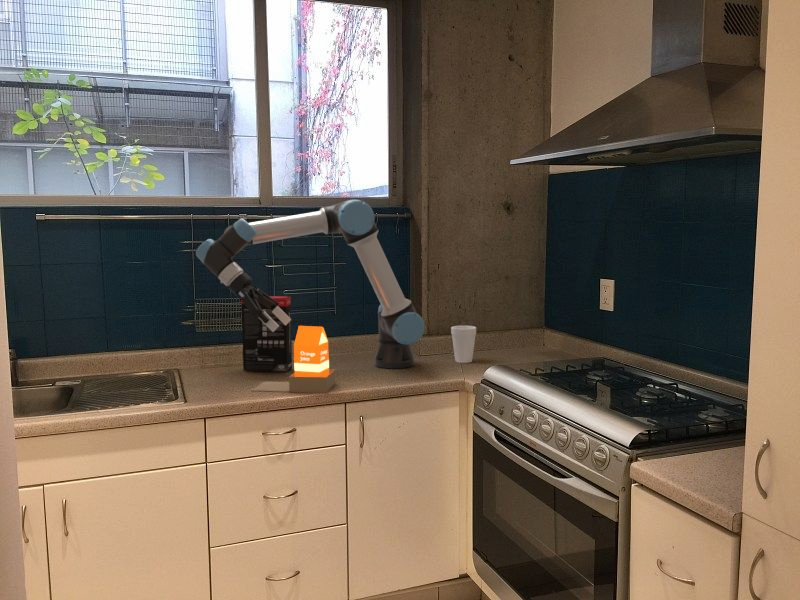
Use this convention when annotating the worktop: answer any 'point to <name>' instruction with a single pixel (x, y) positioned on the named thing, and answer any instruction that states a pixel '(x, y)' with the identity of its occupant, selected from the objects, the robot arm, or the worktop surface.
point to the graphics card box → (267, 340)
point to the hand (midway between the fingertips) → (282, 325)
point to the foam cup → (463, 342)
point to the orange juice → (311, 352)
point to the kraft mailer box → (301, 384)
